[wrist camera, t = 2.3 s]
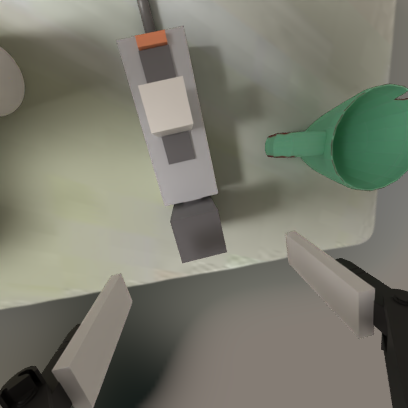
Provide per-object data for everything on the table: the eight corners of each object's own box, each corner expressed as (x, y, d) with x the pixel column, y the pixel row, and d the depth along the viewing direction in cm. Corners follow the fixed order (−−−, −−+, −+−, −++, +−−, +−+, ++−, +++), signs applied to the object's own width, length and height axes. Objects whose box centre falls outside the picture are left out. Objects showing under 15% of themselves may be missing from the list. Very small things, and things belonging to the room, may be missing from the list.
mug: (348, 107, 27) (439, 81, 17) (339, 176, 30) (413, 187, 20) (247, 111, 26) (285, 86, 16) (247, 183, 28) (279, 198, 19)
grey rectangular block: (183, 231, 29) (182, 264, 21) (169, 179, 27) (161, 191, 18) (214, 223, 29) (227, 253, 21) (203, 171, 27) (211, 179, 19)
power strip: (167, 199, 28) (164, 207, 23) (92, -64, 20) (66, -125, 15) (213, 188, 28) (219, 194, 24) (157, -76, 20) (150, -141, 16)
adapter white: (158, 137, 22) (151, 133, 18) (147, 99, 21) (137, 85, 16) (191, 129, 22) (193, 123, 18) (183, 91, 21) (182, 75, 17)
